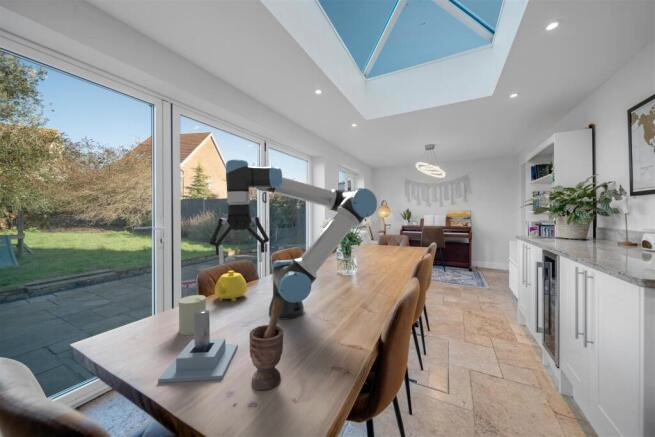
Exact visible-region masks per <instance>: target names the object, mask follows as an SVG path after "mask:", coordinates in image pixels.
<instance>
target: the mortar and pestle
mask: <svg viewBox="0 0 655 437" xmlns="http://www.w3.org/2000/svg"><path fill="white" fill-rule="evenodd" d="M283 304H284V300H283V299H280V298H276V299H275V300H274V302H273V306H272V311H271V316H270V318H269V323H268V324H263V325H260V326H257V327H254V328H253V329H252V330H251V331H249V334H248V335H249V336H248V337H249V356H250V358H251V359H250V360H251V363H252V365H253V367H255V368H256V369H257V370H256V371H255V372H254V373H253V375H252V377H251V386H252V388H253V389H254V390H255V391H256V390H257V391H258V390H259V391H262V390H263V391H264V390H270V389H274V388H275V387H277V386H278V385H279V383H280V381H281V379H282V376H281V373H280V371H279V370H278V368H276V366H277V365H279V362H280V360H281V358H282V354H283V351H284V350H283V349H284V330H283V328H281V327H280V326H278V325H277V324H278V321H279V320H280V319H279V316H280V313H281V311H282V307H283Z"/></svg>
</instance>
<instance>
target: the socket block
mask: <svg viewBox="0 0 655 437" xmlns="http://www.w3.org/2000/svg"><path fill="white" fill-rule="evenodd" d="M238 347H239V343H226V338H225V337H222V338H210V351H209V352H202V353H195V343H194V339H191V340H190V342H189V343H188V344H187V345H186V346H185V348H183V350H182V351H181V352H180V353H179V355H177V357H176V358H175V359H174V360H173V361H172V362H171V364H169V366H168V367H167V368H166V369H165V371H164V372H163V373H162V374H161V375H160V376H159V378H158V379H157V383H158V384H163V383H164V384H165V383H179V382H180V383H181V382H182V383H183V382H198V381H201V382H202V381H215V380H217V381H218V380H223V378H224V376H225V374H226V372H227V370H228V368H229V367H230V365H231V362H232V360H233V358H234V356H235V353H236V351H237V350H238Z"/></svg>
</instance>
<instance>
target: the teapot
mask: <svg viewBox="0 0 655 437" xmlns="http://www.w3.org/2000/svg"><path fill="white" fill-rule="evenodd" d="M243 276H244V275H243V274H241V273H239V272H235V270H228V271H227V273H223V274H222V275H221V276H220V277H219V279H218V280H217V282H216V284H215V287H214V294H215V295H216V296H217V297H218V298H219V299H218V301H224V300H226V299H227V300H228V299H230V301H231V302H236V301H237V300H238V298H239V297H240V298H241V297H244V295H245V293H246V292H247V291H248V284H247V282H246V279H245V278H244V277H243ZM223 299H224V300H223Z"/></svg>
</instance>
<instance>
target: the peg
mask: <svg viewBox="0 0 655 437" xmlns="http://www.w3.org/2000/svg"><path fill="white" fill-rule="evenodd" d="M210 331H211V330H210V310H209V309H206V310H199V311H196V312H195V313H194V334H193V335H194V337H193V338H194V339H193V340H194V343H195V353H202V352H209V351H210V339H211V336H210V334H211V333H210Z"/></svg>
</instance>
